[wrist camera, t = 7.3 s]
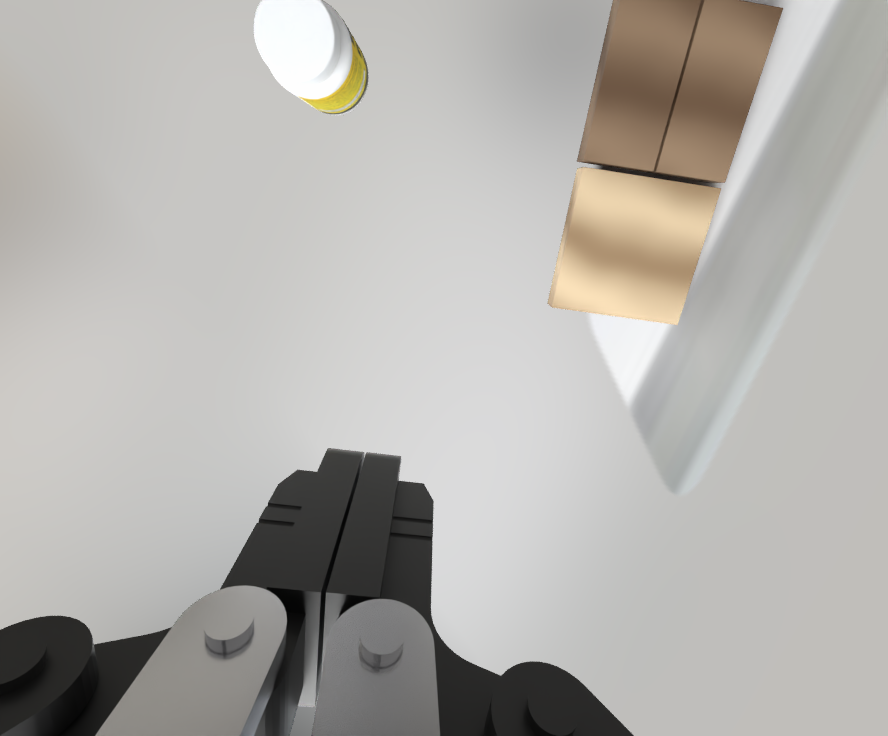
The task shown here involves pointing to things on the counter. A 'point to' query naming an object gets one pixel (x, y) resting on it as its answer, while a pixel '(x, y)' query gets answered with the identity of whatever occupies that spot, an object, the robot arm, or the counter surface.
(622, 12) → the brown flat square block
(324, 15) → the supplement bottle
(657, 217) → the oak plank
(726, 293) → the counter surface
